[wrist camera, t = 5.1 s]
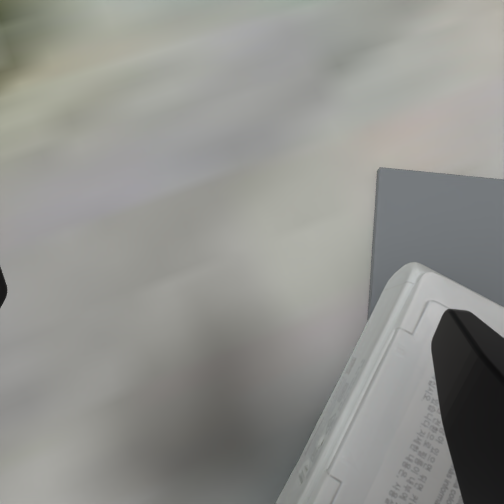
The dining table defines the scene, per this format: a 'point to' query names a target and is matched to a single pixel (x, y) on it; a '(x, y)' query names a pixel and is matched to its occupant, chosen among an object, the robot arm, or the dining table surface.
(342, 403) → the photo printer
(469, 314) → the robot arm
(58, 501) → the dining table surface
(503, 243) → the mat
